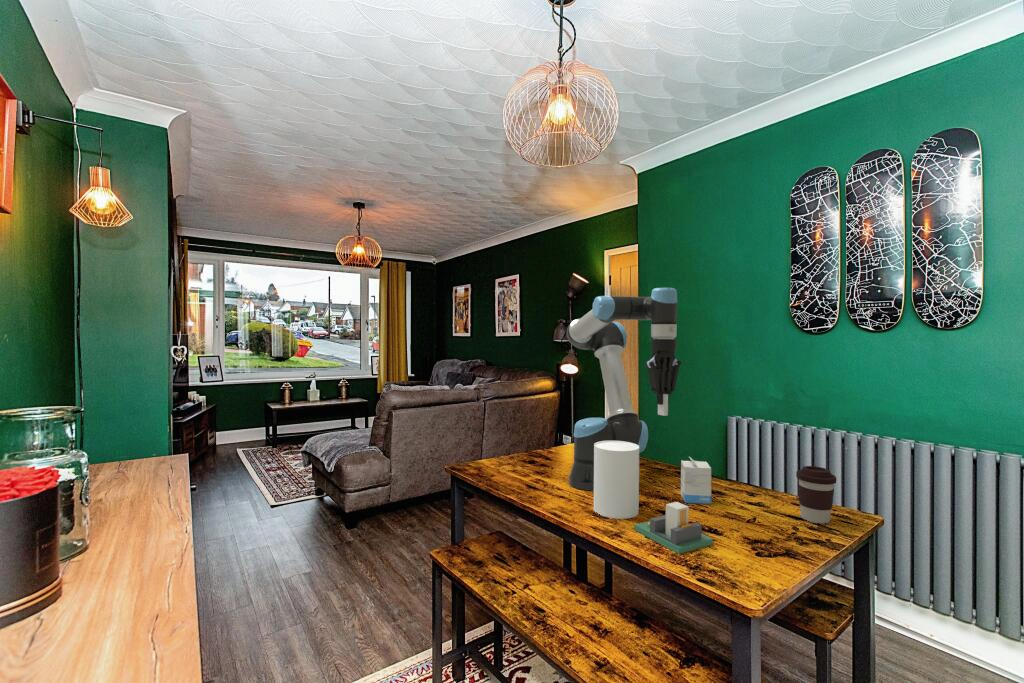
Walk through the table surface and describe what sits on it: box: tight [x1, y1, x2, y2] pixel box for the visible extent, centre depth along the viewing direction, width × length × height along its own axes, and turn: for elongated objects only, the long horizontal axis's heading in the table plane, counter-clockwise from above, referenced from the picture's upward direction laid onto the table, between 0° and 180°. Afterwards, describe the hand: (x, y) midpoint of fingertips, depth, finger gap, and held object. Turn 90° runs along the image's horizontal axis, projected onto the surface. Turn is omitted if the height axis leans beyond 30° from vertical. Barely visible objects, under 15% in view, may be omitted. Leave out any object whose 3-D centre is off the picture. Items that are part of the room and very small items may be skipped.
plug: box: [665, 501, 690, 537], centre depth 124 cm, size 4×4×8 cm
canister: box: [593, 441, 640, 520], centre depth 146 cm, size 14×14×20 cm
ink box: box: [680, 456, 712, 505], centre depth 156 cm, size 9×8×13 cm
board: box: [634, 514, 714, 555], centre depth 127 cm, size 16×12×5 cm
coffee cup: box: [795, 465, 837, 525], centre depth 140 cm, size 10×10×15 cm
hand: (662, 414), depth 146 cm, fingers closed
